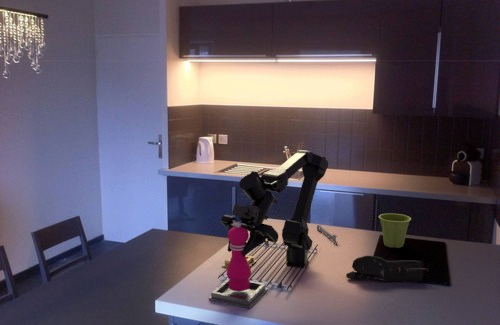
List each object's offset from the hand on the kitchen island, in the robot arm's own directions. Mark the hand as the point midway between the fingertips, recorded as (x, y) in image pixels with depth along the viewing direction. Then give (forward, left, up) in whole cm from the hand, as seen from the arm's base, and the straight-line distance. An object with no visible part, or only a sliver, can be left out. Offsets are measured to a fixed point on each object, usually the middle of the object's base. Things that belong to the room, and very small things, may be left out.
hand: (235, 253), depth 129 cm
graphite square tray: (0, -1, -13) cm, 13 cm away
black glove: (-38, -31, -14) cm, 51 cm away
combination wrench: (-10, -63, -14) cm, 65 cm away
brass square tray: (+10, -22, -13) cm, 27 cm away
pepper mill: (0, -2, -11) cm, 11 cm away
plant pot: (-36, -64, -13) cm, 75 cm away
